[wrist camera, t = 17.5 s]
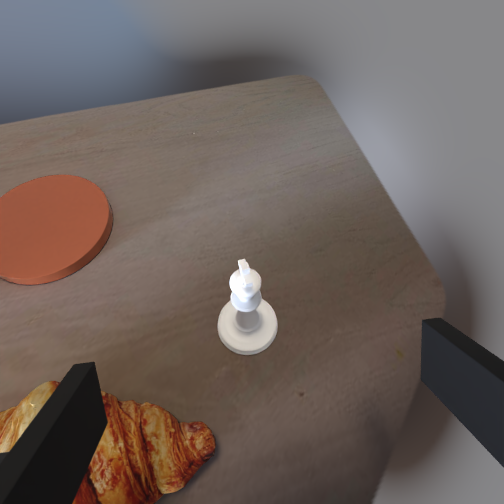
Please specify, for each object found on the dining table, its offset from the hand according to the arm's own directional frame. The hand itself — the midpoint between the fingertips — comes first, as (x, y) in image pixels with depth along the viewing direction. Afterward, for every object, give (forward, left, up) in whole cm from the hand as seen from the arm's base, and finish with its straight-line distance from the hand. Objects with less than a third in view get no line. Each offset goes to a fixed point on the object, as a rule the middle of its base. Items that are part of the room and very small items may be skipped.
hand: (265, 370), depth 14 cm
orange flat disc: (+25, +7, -13) cm, 29 cm away
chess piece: (+6, -3, -14) cm, 15 cm away
